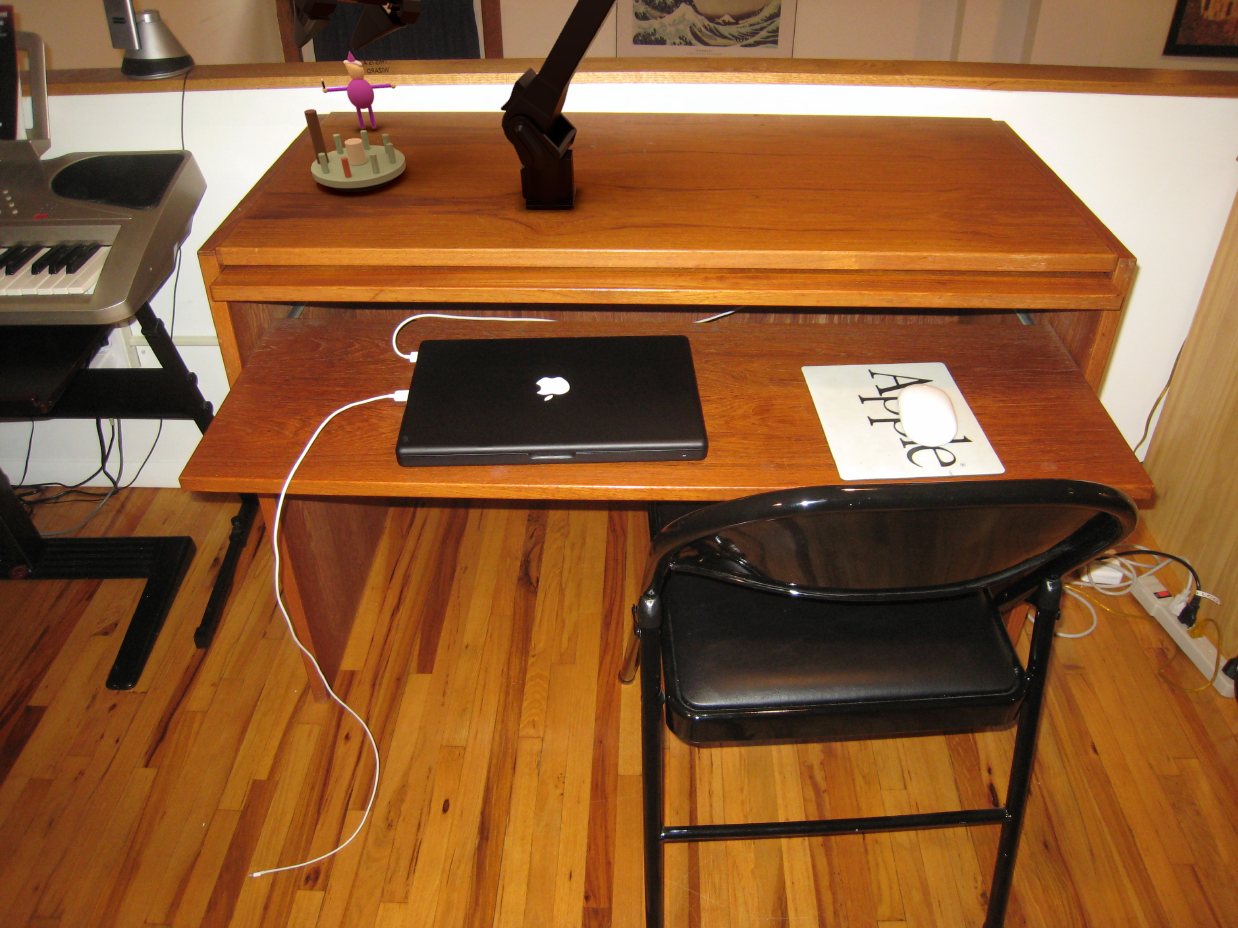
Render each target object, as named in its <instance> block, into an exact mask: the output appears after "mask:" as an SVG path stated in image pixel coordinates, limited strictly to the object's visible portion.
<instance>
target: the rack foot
mask: <svg viewBox="0 0 1238 928" xmlns="http://www.w3.org/2000/svg"><path fill="white" fill-rule="evenodd" d="M392 180H393V179H391V180H389V181H386V182H384V183H380V184H377V185H373V186H367V187H360V188H335V187H332V188H333V189H335V190H338V191H341V192H347V193H360V192H362V193H363V192H368V191H373V190H375V189H377V190H378V189H381V188H382V187H385V186H386V185H388V184H390V183H391V182H392Z"/></svg>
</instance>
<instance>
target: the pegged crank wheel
mask: <svg viewBox="0 0 1238 928" xmlns="http://www.w3.org/2000/svg"><path fill="white" fill-rule="evenodd" d="M303 113H304V117H305V121H306V125H307V129H308V132H309V137H310V139H311V144H312V148H313V151H314V155H315V160H314V161H313V162H312V164H311V165H310V166H311V167H310V171H311V174H312V178H313V179H314V180H315V182H316V183H318V184H320V185H323V186H326V187H330V188H333V187H335V188H360V187H367V186H373V185H377V184H380V183H384V182H386V181H389V180H391V179H392V180H394V179H395V178H397V177H398V176H400V175H401V174H403V172H404V171H405V170H406V167H407V162H406V158H405V155H404V154H403V152H401V151H400V150H398V149H396V148H394V144H393V143H392V142H391V140H390V137H389V133H383V134H381V137H382V142H383V145H375V144H374V145H370V141H369V135H368V131H367V130H366V129H365V130H360V138H358V137H353V138H348V139H346V140H345V141H344V146H345V147H343V143H342V139H341V134H340V133H334V134H332V137H333V141H334V145H335V150H333V151H330V152H327V147H326V143H325V139H324V135H323V133H322V132H323V131H322V128H321V124H320V119H319V115H318V112H317V110H316V109H315V108H310V109H306V110H304V112H303ZM335 188H334V189H335Z"/></svg>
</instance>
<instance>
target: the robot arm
mask: <svg viewBox="0 0 1238 928" xmlns="http://www.w3.org/2000/svg"><path fill="white" fill-rule="evenodd" d="M618 1H619V0H577V2H576V4H575V5H574V8H572V11H571V12H570V15H569V17H568V18H567V20H566V22H565V24H564V25H563V28H562V30H561V31H560V33H559V35H558V37H557V39H556V40H555V42H554V43H553V46H552V48H551V49H550V51H549V53H548V55H547V57H546V58H545V60H544V62H543V64H542V65H541V67H540V69H539V71H538V73H537V72H536V71H535V70H534V69H533V68H532V67H531V66H530V67H528V68H527V70H525V71H524V72H523V74H522V75H521V76H519V78H518V79H517V80H516V81H515V82H514V84H513V87H512V90H511V93H510V95H509V98H508V100H507V101H506V102H505V103H504V104H503V105H502V106H500V111H503V112H504V113H503V115H502V118H501V128H502V130H503V133H504V136H505V137H506V139H507V141H508V142H509V143H510V144H511V145H513V146H512V147H513V148H514V150H515V152H516V155H517V157H518V159H519V162H520V164H521V166H520V168H519V171H520V172H519V173H520V182H521V184H520V185H521V193H522V198H523V200H525V203H524V208H525V209H527V210H529V209H530V210H532V209H533V210H535V209H536V210H540V209H542V210H544V209H545V210H547V209H549V210H551V209H557V210H565V209H566V210H569V209H574V207H575V202H576V195H577V186H576V185H575V170H574V169H575V168H574V152H573V151H574V150H573V149H572V148H570V147H571V146H573V144H574V142H575V139H576V135H577V133H578V129H577V127H575V125H574V124H573V123H572V122H571V121H570V120H569V119H568V118H567V117H566V116H565V115H564V114H563V113H562V112H563V108H564V106H565V102H566V100H567V95H568V92H569V87H570V84H571V82H572V80H573V78H574V76H575V74H576V73H577V71H578V70H579V68H580V66H581V65H582V62H583V61H584V59H585V58H586V56H587V54H588V53H589V51H590V49H591V47H592V46H593V44H594V42H595V40H596V39H597V37H598V35H599V34H600V32H601V30H602V29H603V27H604V25H605V24H606V22H607V20H608V18H609V16H610V15H611V13H612V11H613V10H614V8H615V6H616V4H617V2H618ZM338 2H343V3H350V4H351V3H352V4H360V5H361V4H362V5H365V7H364V9H363V11H362V13H361V16H360V17H359V20H358V22H357V24H356V26H355V29H354V31H353V34H352V36H351V39H350V42H349V46H350V48H351V49H352V50H353V51H354V52H356V51H359V50H361V49H362V48H365V47H366V46H368V45H370V44H372V43H374V42H376V41H377V40H379V39H381V38H383V37H385V36H387V35H389V34H391V33H393V32H395V31H398V30H399V29H402V28H406V27H407V26H408V24H409V25H416V23H417V21H418V20H419V18H420V17H421V15H422V1H421V0H293V12H294V13H293V34H292V35H293V39H292V42H293V44H294V45H295V47H296V48H297V49H302V48H303V47H304V46H306V45H307V44H309V43H310V42H311V40H312V39H314V37H316V36H317V34H318V33H320V32H321V31H322V30H323V29H324V28H325V27H326V26H327V25H328V24H329V23H330V22H331V21H332V20H331V17H330V15H332V14H333V13H334V12H335V11H336V10H337V7H338V4H339V3H338Z"/></svg>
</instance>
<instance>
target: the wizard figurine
mask: <svg viewBox="0 0 1238 928" xmlns="http://www.w3.org/2000/svg"><path fill="white" fill-rule="evenodd" d="M374 60H375V65H377V66H378V65H381V63H383V64H388V63H387V61H388V58H383V59H374ZM343 64H344V65H345V68H346V70H347V72H348V75H349V77H350V79H351V80H350V81H349V82H348V84H347V86H341V87H326V85H325V81H324V79H323V78H321V79H320V82H321V86H322V89H321V91H322V93H324V94H327V93H335V92H336V93H337V92H346V94H347V98H348V100H349V102H350V104H351V105H353V107H355V109H356V114H357V115H356V116H357V119H358V124H359V129H360V131H362V130H366V129H367V128H366V125H365V122H364V118H363V114H362V110H366V109H367V111H368V116H369V120H370V124H371V127H370V128H371V129H372V130H374V131H376V130H377V128H378V127H377V125H376V119H375V115H374V110H373V103H374V102H375V101H374V100H375V92H374V91H375V90H377V89H396V87H397V84H396V83H395V82H390V83H382V84H370V82H369V81H367V80H366V79H365V70H364V67H363V65H366V66H368V65H369V66H373V64H374V61H373V59H368V63H367V62H366V59H365V60H364V61H363V62H362V61H359V60H356V59H355V57H354V56H353V54H352V52H351V51H350V50H349V51H348V55H347V59H345V60H343ZM377 68H378V69H377ZM378 70H379V71H378ZM383 72H384V73H386V72H387V73H389V67H385V68H384V67H375V69H374V67H372V68H367V69H366V73H367V74H372V73H374V74H376V73H379V74H380V73H383Z"/></svg>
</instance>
